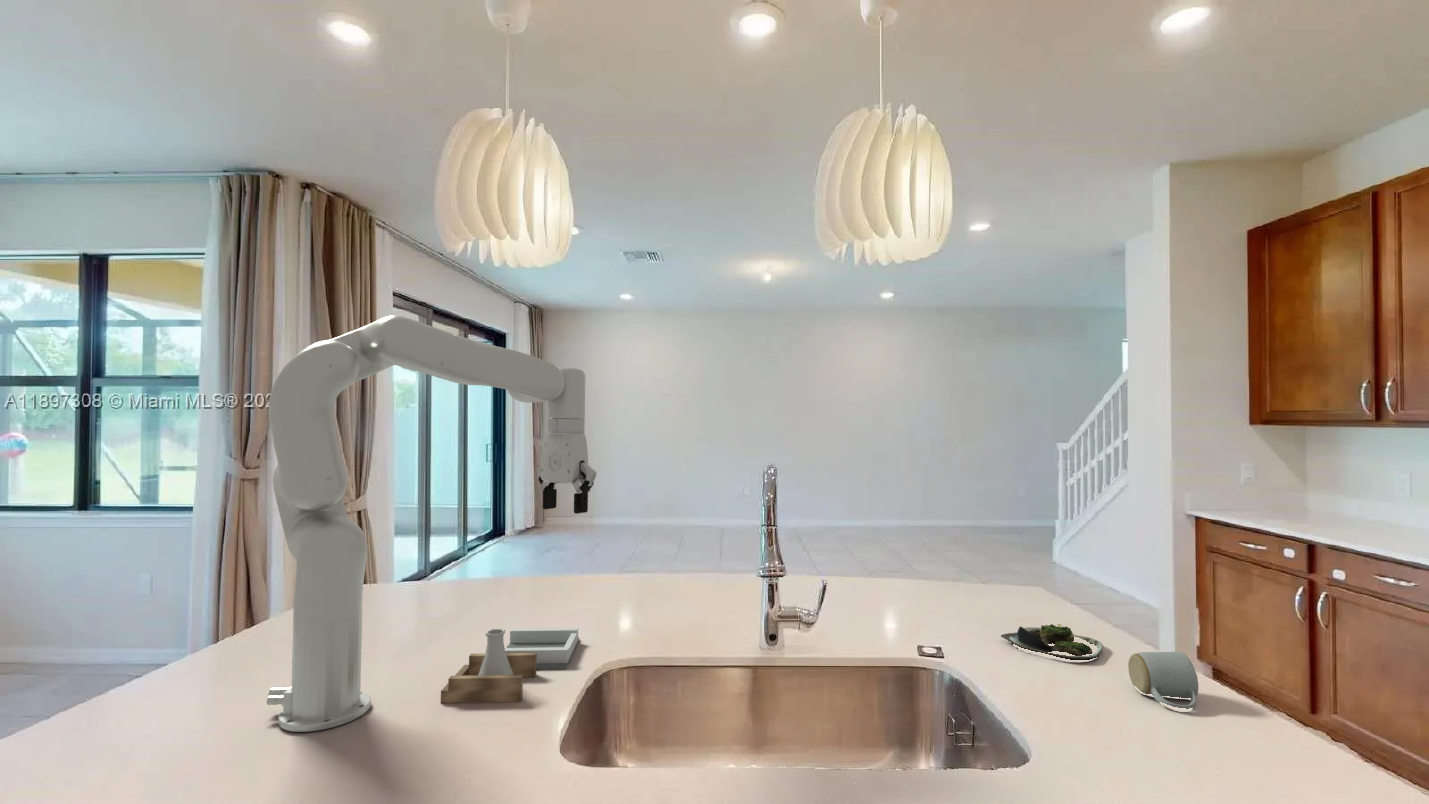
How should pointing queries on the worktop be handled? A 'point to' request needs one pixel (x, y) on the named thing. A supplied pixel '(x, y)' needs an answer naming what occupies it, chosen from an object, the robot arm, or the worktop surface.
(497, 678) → the wooden u-shaped bracket
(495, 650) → the flask
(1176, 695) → the ceramic mug
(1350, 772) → the worktop surface
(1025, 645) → the salad plate
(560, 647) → the dock
